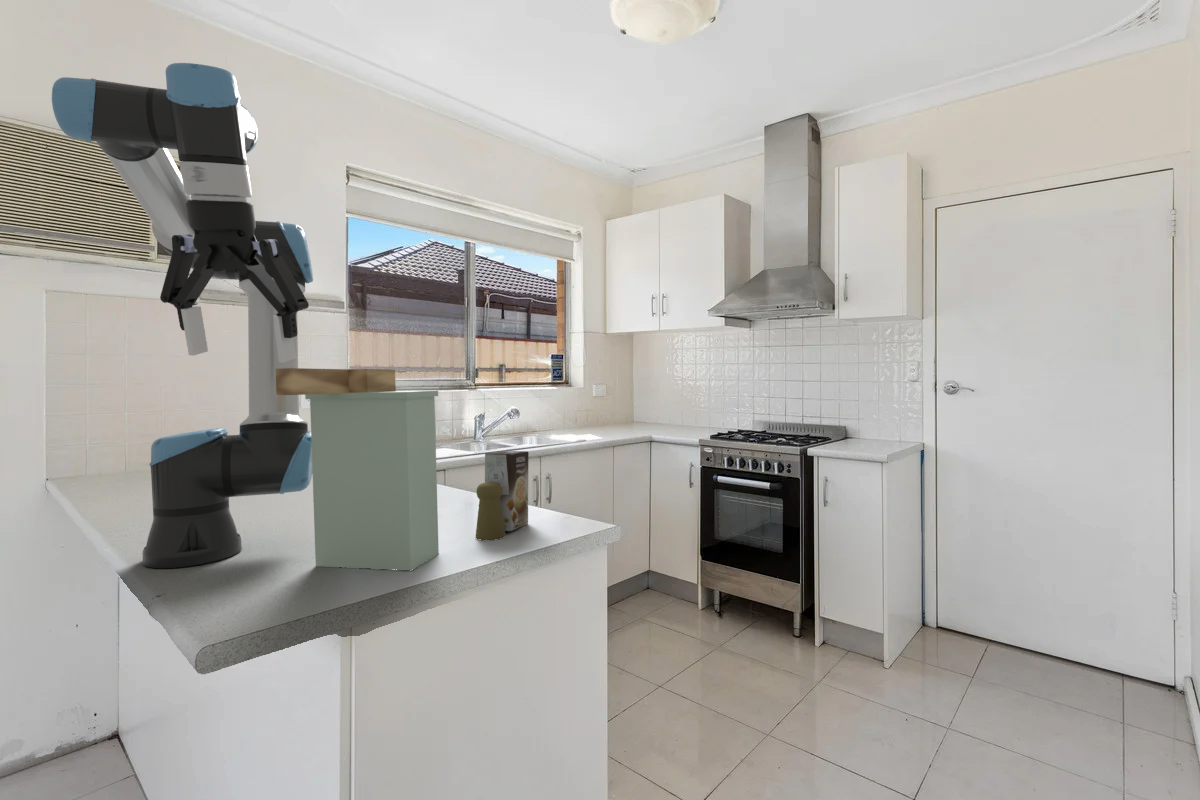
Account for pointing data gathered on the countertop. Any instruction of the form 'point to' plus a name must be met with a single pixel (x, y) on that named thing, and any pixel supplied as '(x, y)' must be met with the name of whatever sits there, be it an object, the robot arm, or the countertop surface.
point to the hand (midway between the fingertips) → (242, 356)
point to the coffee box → (510, 484)
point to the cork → (489, 512)
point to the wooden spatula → (333, 381)
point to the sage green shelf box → (374, 479)
